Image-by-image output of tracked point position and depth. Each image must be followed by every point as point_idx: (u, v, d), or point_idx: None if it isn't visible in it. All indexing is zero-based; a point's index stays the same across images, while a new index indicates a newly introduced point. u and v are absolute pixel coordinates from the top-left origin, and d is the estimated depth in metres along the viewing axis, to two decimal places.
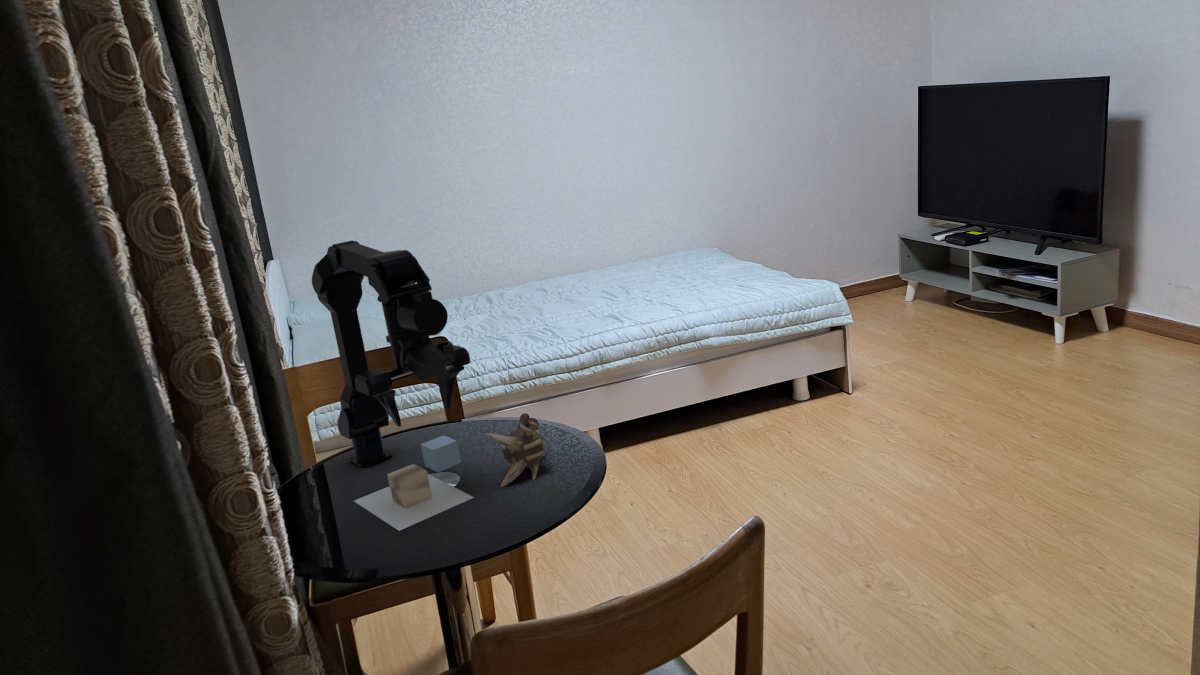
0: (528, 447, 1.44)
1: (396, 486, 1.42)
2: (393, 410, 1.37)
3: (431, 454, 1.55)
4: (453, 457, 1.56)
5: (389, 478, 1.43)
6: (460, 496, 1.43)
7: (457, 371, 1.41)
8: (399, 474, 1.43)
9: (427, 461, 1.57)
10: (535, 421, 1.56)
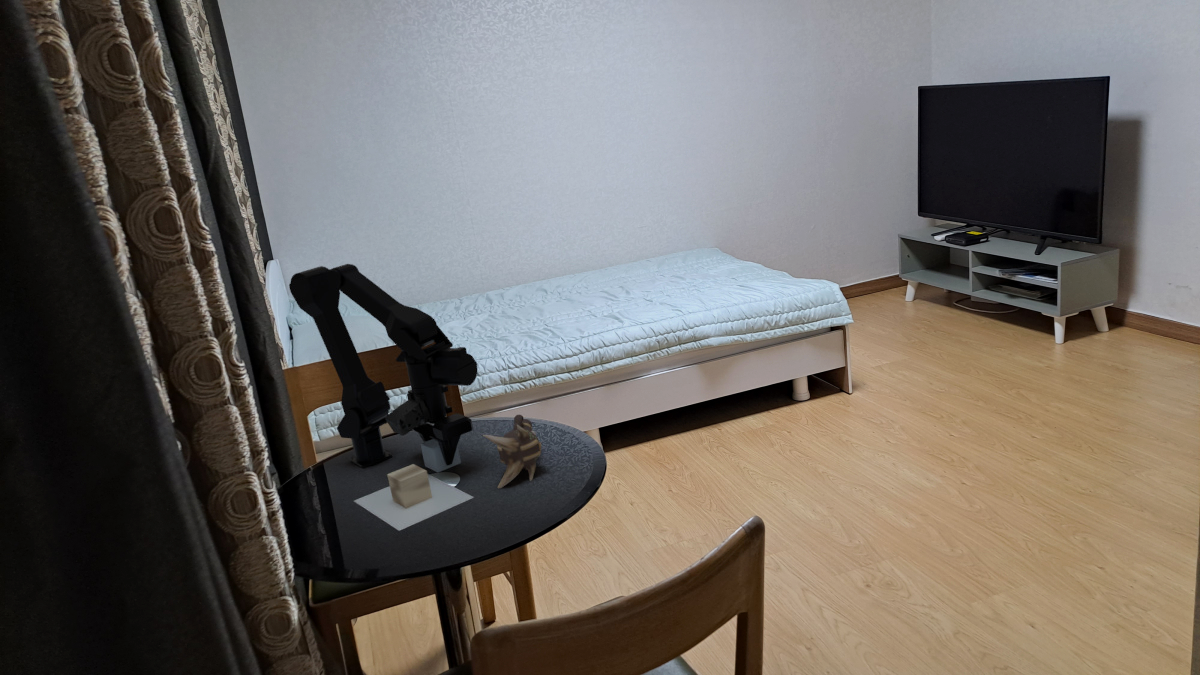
0: (525, 448, 1.44)
1: (396, 486, 1.42)
2: None
3: (431, 454, 1.55)
4: None
5: (389, 478, 1.43)
6: (460, 496, 1.43)
7: (434, 438, 1.51)
8: (399, 474, 1.43)
9: (427, 461, 1.57)
10: (529, 422, 1.55)
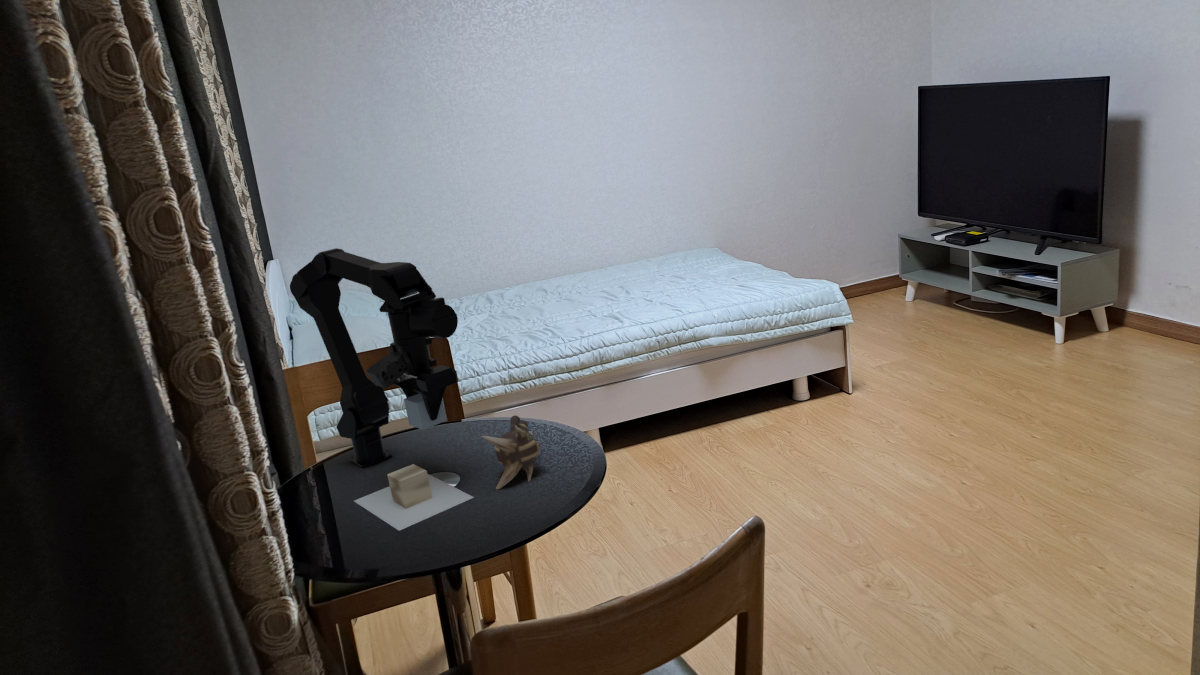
0: (523, 448, 1.44)
1: (396, 486, 1.42)
2: None
3: (415, 409, 1.49)
4: None
5: (389, 478, 1.43)
6: (460, 496, 1.43)
7: (417, 391, 1.46)
8: (399, 474, 1.43)
9: (411, 417, 1.51)
10: (525, 423, 1.55)
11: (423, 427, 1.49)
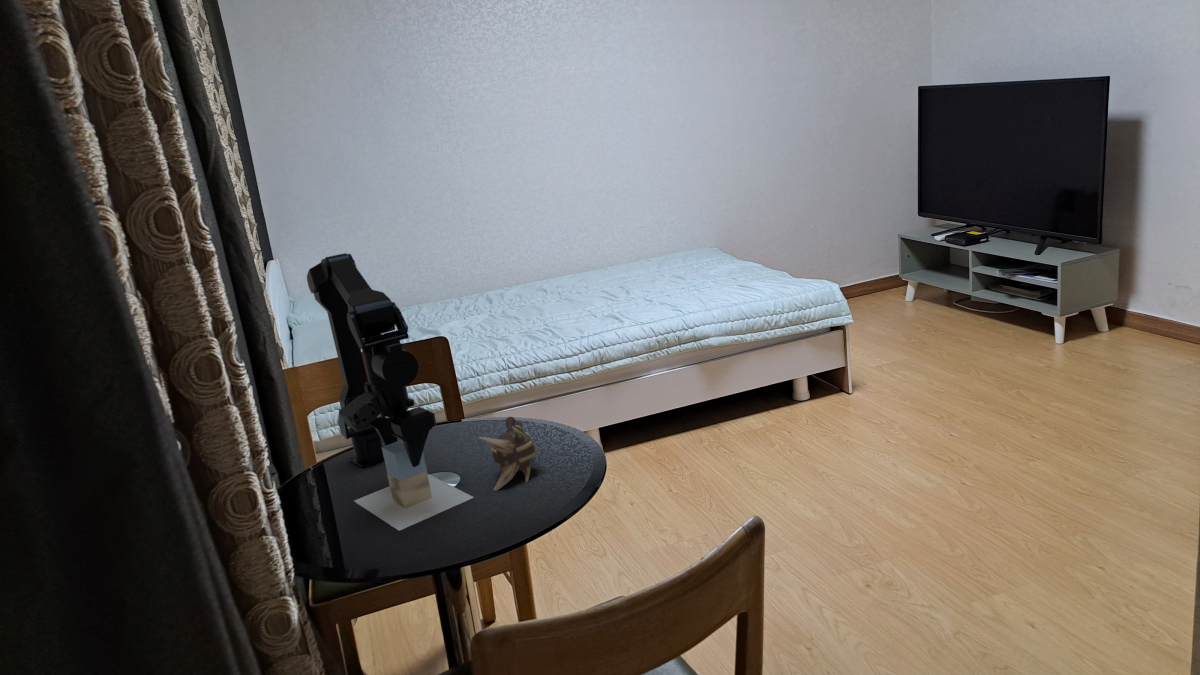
0: (520, 449, 1.44)
1: (396, 486, 1.42)
2: (381, 438, 1.45)
3: (393, 459, 1.40)
4: None
5: (389, 478, 1.43)
6: (460, 496, 1.43)
7: (397, 437, 1.35)
8: None
9: (389, 466, 1.42)
10: (520, 424, 1.55)
11: (401, 478, 1.40)
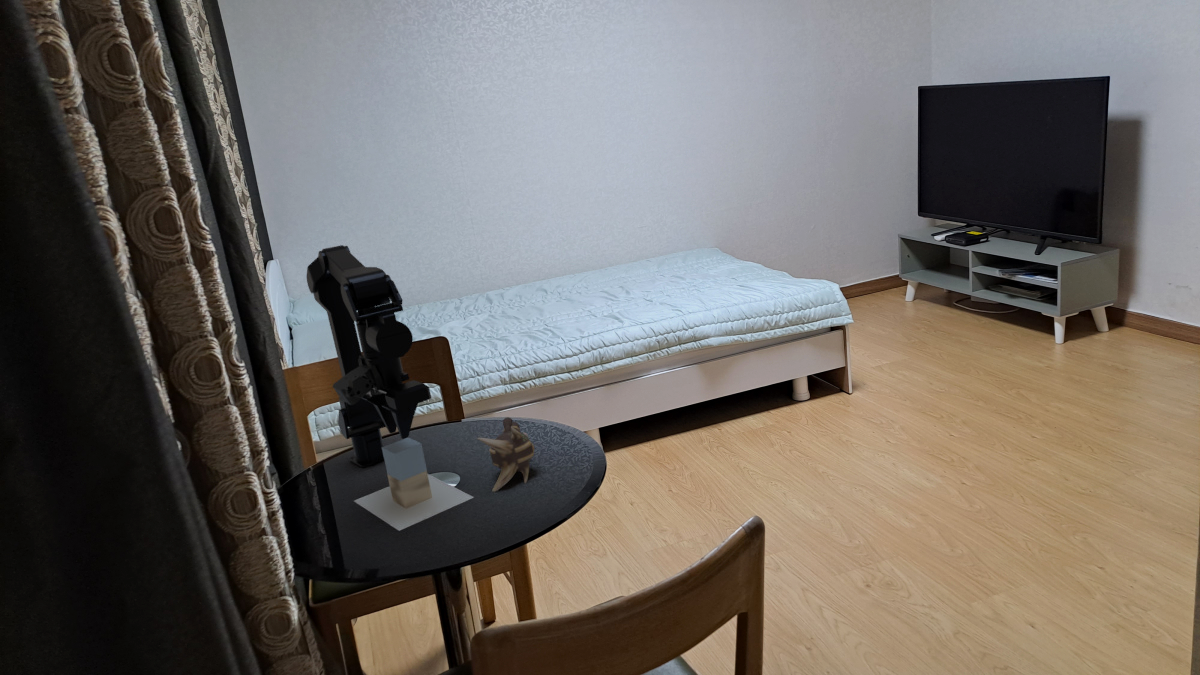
0: (519, 450, 1.44)
1: (396, 486, 1.42)
2: (380, 416, 1.42)
3: (393, 459, 1.40)
4: (418, 461, 1.42)
5: (389, 478, 1.43)
6: (460, 496, 1.43)
7: (386, 408, 1.35)
8: None
9: (389, 466, 1.42)
10: (517, 425, 1.55)
11: (401, 478, 1.40)
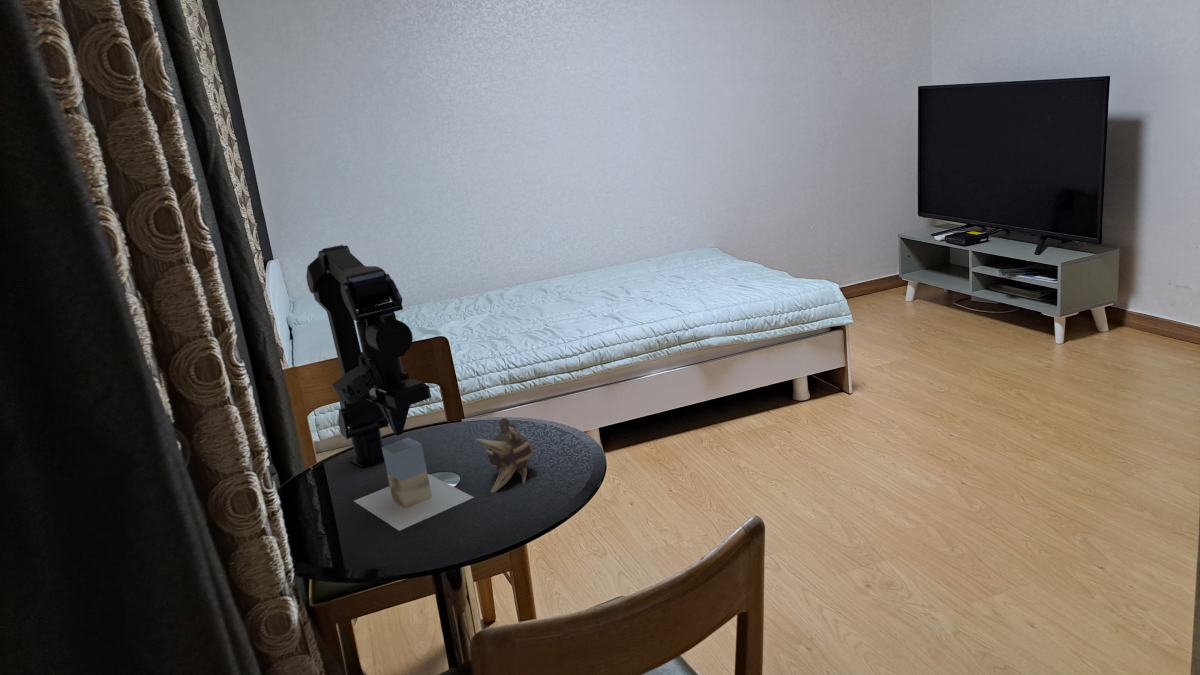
0: (517, 450, 1.44)
1: (396, 486, 1.42)
2: (386, 417, 1.41)
3: (393, 459, 1.40)
4: (418, 461, 1.42)
5: (389, 478, 1.43)
6: (460, 496, 1.43)
7: (380, 405, 1.37)
8: None
9: (389, 466, 1.42)
10: (513, 426, 1.55)
11: (401, 478, 1.40)
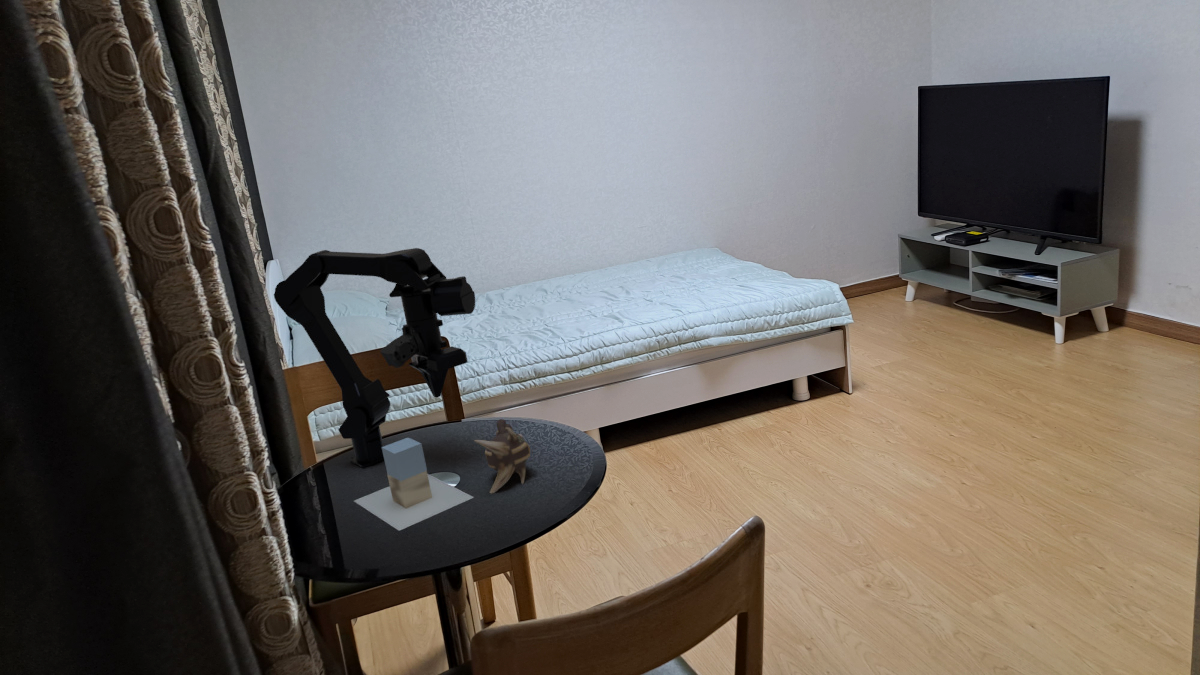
0: (516, 451, 1.44)
1: (396, 486, 1.42)
2: (426, 381, 1.58)
3: (393, 459, 1.40)
4: (418, 461, 1.42)
5: (389, 478, 1.43)
6: (460, 496, 1.43)
7: (422, 369, 1.54)
8: None
9: (389, 466, 1.42)
10: (510, 427, 1.55)
11: (401, 478, 1.40)
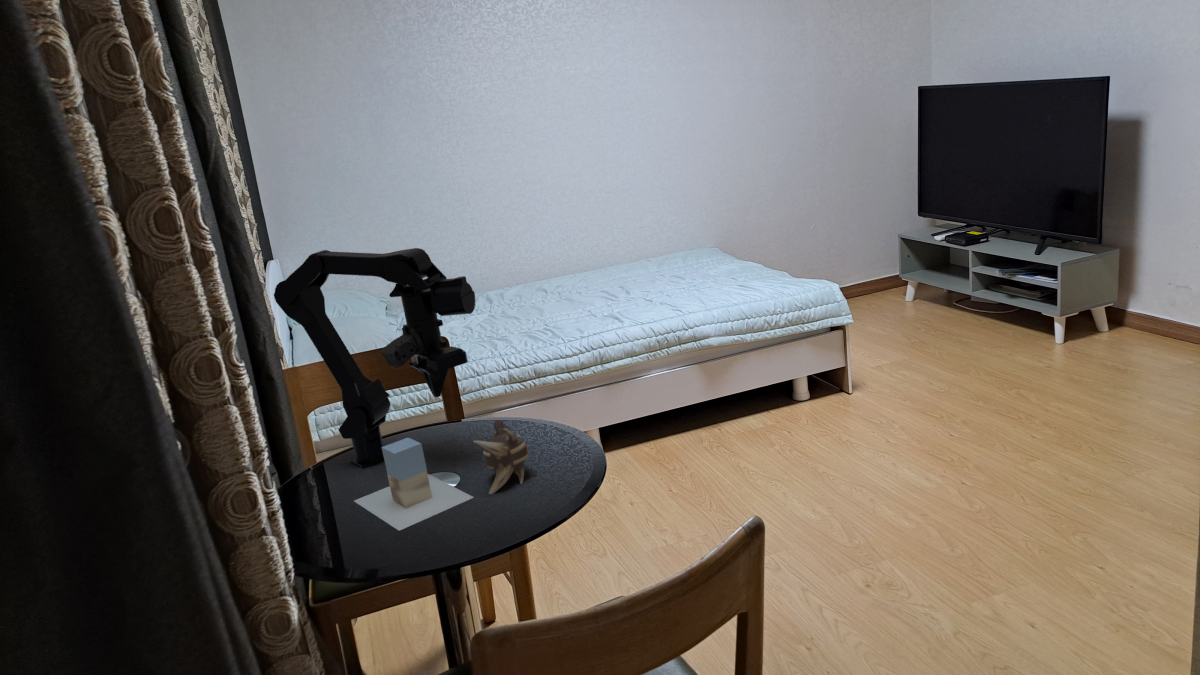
0: (514, 451, 1.43)
1: (396, 486, 1.42)
2: (426, 381, 1.58)
3: (393, 459, 1.40)
4: (418, 461, 1.42)
5: (389, 478, 1.43)
6: (460, 496, 1.43)
7: (422, 369, 1.54)
8: None
9: (389, 466, 1.42)
10: (507, 428, 1.54)
11: (401, 478, 1.40)
